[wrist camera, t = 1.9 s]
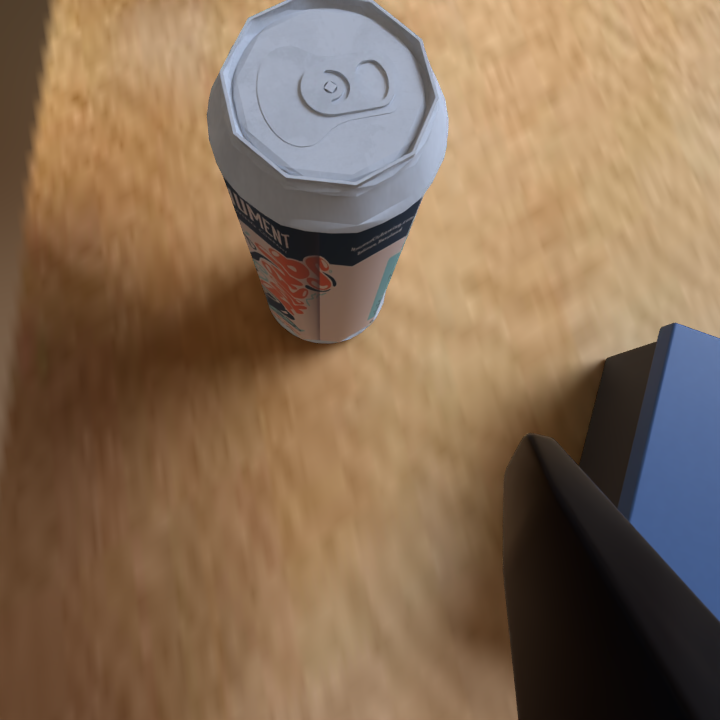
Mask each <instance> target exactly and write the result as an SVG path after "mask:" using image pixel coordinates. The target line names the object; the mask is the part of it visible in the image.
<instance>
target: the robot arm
mask: <svg viewBox="0 0 720 720" xmlns="http://www.w3.org/2000/svg"><path fill="white" fill-rule="evenodd" d="M503 575H504V587H505V596H506V606H507V616H508V625H509V635H510V644H511V654H512V663H513V673H514V682H515V692H516V701H517V711H518V720H720V621H719V620H718V619H717V618H716V617H715V616H714V614H713V613H712V612H711V611H710V610H709V609H708V608H707V607H706V606H705V605H704V603H703V602H702V601H701V600H700V599H699V598H698V597H697V596H696V595H695V594H694V592H693V591H692V590H691V589H690V588H689V587H688V586H687V585H686V584H685V583H684V581H683V580H682V579H681V578H680V577H679V576H678V575H677V574H676V573H675V572H674V570H673V569H672V568H671V567H670V566H669V565H668V564H667V563H666V562H665V561H664V559H663V558H662V557H661V556H660V555H659V554H658V553H657V552H656V551H655V549H654V548H653V547H652V546H651V545H650V544H649V543H648V542H647V541H646V540H645V538H644V537H643V536H642V535H641V534H640V533H639V532H638V531H637V530H636V529H635V527H634V526H633V525H632V524H631V523H630V522H629V521H628V520H627V519H626V518H625V516H624V515H623V514H622V513H621V512H620V511H619V510H618V509H617V508H616V507H615V505H614V504H613V503H612V502H611V501H610V500H609V499H608V498H607V497H606V496H605V494H604V493H603V492H602V491H601V490H600V489H599V488H598V487H597V486H596V485H595V483H594V482H593V481H592V480H591V479H590V478H589V477H588V476H587V475H586V474H585V472H584V471H583V470H582V469H581V468H580V467H579V466H578V465H577V464H576V463H575V461H574V460H573V459H572V458H571V457H570V456H569V455H568V454H567V453H566V452H565V450H564V449H563V448H562V447H561V446H560V445H559V444H558V443H557V442H556V441H555V440H554V439H553V438H551V437H547V436H543V435H539V434H534V433H528V434H526V435H525V436H524V437H523V438H522V440H521V442H520V444H519V445H518V447H517V449H516V451H515V453H514V455H513V457H512V458H511V460H510V462H509V464H508V466H507V468H506V471H505V475H504V493H503Z"/></svg>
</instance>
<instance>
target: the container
mask: <svg viewBox="0 0 720 720" xmlns="http://www.w3.org/2000/svg"><path fill="white" fill-rule="evenodd" d="M579 467H580V468H581V469H582V470H583V471H584V472H585V474H586V475H587V476H588V477H589V478H590V479H591V480H592V481H593V482H594V483H595V485H596V486H597V487H598V488H599V489H600V490H601V491H602V492H603V493H604V494H605V496H606V497H607V498H608V499H609V500H610V501H611V502H612V503H613V504H614V505H615V507H616V508H617V509H618V510H619V511H620V512H621V513H622V514H623V515H624V516H625V518H626V519H627V520H628V521H629V522H630V523H631V524H632V525H633V526H634V527H635V529H636V530H637V531H638V532H639V533H640V534H641V535H642V536H643V537H644V538H645V540H646V541H647V542H648V543H649V544H650V545H651V546H652V547H653V548H654V549H655V551H656V552H657V553H658V554H659V555H660V556H661V557H662V558H663V559H664V561H665V562H666V563H667V564H668V565H669V566H670V567H671V568H672V569H673V570H674V572H675V573H676V574H677V575H678V576H679V577H680V578H681V579H682V580H683V581H684V583H685V584H686V585H687V586H688V587H689V588H690V589H691V590H692V591H693V592H694V594H695V595H696V596H697V597H698V598H699V599H700V600H701V601H702V602H703V603H704V605H705V606H706V607H707V608H708V609H709V610H710V611H711V612H712V613H713V614H714V616H715V617H716V618H717V619H718V620H719V621H720V338H717V337H714V336H711V335H709V334H706V333H703V332H700V331H697V330H694V329H692V328H689V327H686V326H683V325H680V324H678V323H672V324H669V325H667V326H664V327H661V329H660V331H659V335H658V340H657V342H654V343H651V344H648V345H645V346H642V347H639V348H636V349H633V350H630V351H626V352H623V353H620V354H617V355H614V356H611V357H608V358H607V359H606V362H605V366H604V370H603V374H602V378H601V382H600V386H599V390H598V394H597V397H596V401H595V405H594V409H593V413H592V417H591V421H590V425H589V429H588V433H587V437H586V441H585V445H584V449H583V453H582V456H581V460H580V464H579Z"/></svg>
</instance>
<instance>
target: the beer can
mask: <svg viewBox="0 0 720 720" xmlns="http://www.w3.org/2000/svg"><path fill="white" fill-rule="evenodd" d="M207 121H208V133H209V141H210V144H211V147H212V150H213V153H214V156H215V160H216V163H217V165H218V167H219V169H220V171H221V173H222V175H223V177H224V180H225V183H226V186H227V189H228V191H229V194H230V197H231V200H232V203H233V205H234V208H235V211H236V214H237V217H238V219H239V222H240V225H241V228H242V231H243V233H244V236H245V239H246V242H247V245H248V247H249V250H250V253H251V256H252V259H253V261H254V264H255V267H256V270H257V273H258V275H259V278H260V281H261V284H262V287H263V289H264V292H265V295H266V298H267V301H268V304H269V307H270V310H271V312H272V314H273V316H274V317H275V319H276V320H277V321H278V322H279V323H280V324H281V326H283V327H284V328H285V329H287V330H288V331H289V332H290V333H292V334H293V335H295V336H297V337H299V338H301V339H303V340H307V341H310V342H314V343H326V344H330V343H337V342H342V341H345V340H348V339H351V338H352V337H354V336H356V335H358V334H360V333H361V332H363V331H364V330H365V329H366V328H367V327H368V326H370V325H371V324H372V322H373V321H374V320H375V318H376V317H377V315H378V313H379V311H380V309H381V307H382V305H383V302H384V297H385V292H386V289H387V286H388V284H389V281H390V279H391V276H392V274H393V271H394V269H395V266H396V264H397V261H398V259H399V256H400V254H401V251H402V249H403V246H404V244H405V241H406V239H407V236H408V234H409V231H410V229H411V226H412V224H413V221H414V219H415V216H416V214H417V211H418V209H419V206H420V204H421V201H422V199H423V196H424V194H425V192H426V191H427V189H428V188H429V186H430V185H431V184H432V182H433V180H434V178H435V176H436V174H437V171H438V169H439V167H440V165H441V163H442V161H443V159H444V155H445V151H446V146H447V137H448V114H447V108H446V102H445V98H444V95H443V93H442V91H441V88H440V86H439V84H438V81H437V79H436V77H435V74H434V72H433V70H432V68H431V66H430V63H429V61H428V58H427V55H426V51H425V48H424V44H423V41H422V39H421V38H420V37H418V36H417V35H416V34H415V33H413V32H412V31H411V30H410V29H408V28H407V27H406V26H405V25H403V24H402V23H401V22H400V21H398V20H397V19H396V18H395V17H393V16H392V15H391V14H390V13H388V12H387V11H386V10H385V9H383V8H382V7H381V6H380V5H378V4H377V3H376V2H375V1H373V0H286V1H284V2H281V3H279V4H277V5H275V6H273V7H271V8H269V9H266V10H264V11H262V12H260V13H258V14H256V15H253V16H251V17H249V18H248V19H247V21H246V23H245V25H244V27H243V29H242V31H241V32H240V34H239V36H238V38H237V40H236V42H235V44H234V45H233V46H232V48H231V50H230V52H229V54H228V56H227V59H226V61H225V62H224V64H223V66H222V68H221V70H220V72H219V74H218V76H217V78H216V80H215V82H214V84H213V86H212V88H211V93H210V97H209V103H208V112H207Z"/></svg>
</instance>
